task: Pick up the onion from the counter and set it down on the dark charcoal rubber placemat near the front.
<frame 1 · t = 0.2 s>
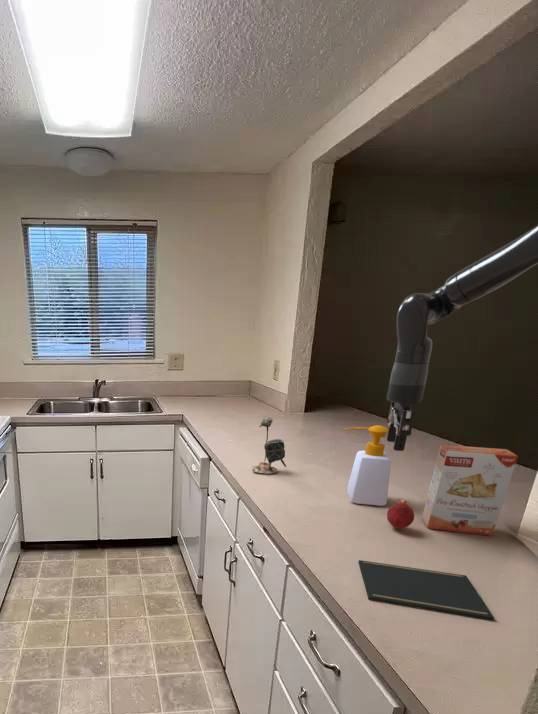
hand: (394, 445, 111), 19 cm above the countertop, tool pointing down, fingers open, 8 cm apart
placemat: (418, 588, 86), on the countertop
soap bottle: (357, 499, 128), on the countertop
onion: (397, 529, 110), on the countertop
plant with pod: (268, 472, 151), on the countertop
cracker box: (455, 528, 110), on the countertop
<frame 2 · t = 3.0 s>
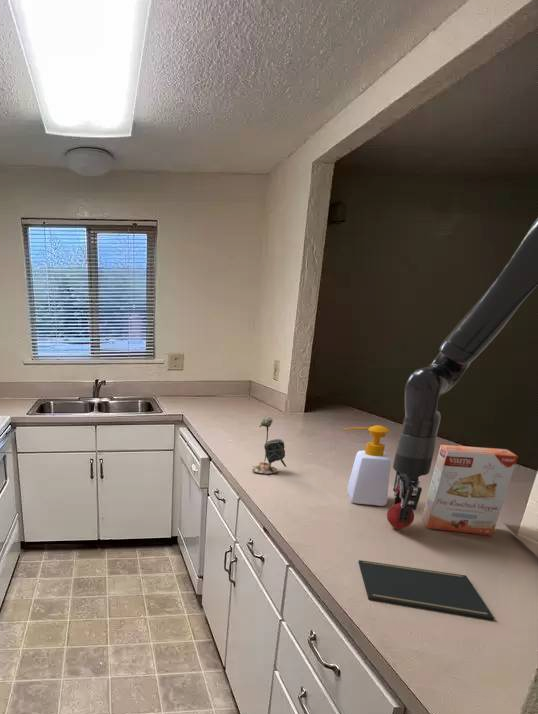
hand: (400, 516, 108), 4 cm above the countertop, tool pointing down, fingers closed on onion, 6 cm apart
onion: (397, 529, 110), on the countertop, touching gripper
everything else where it was.
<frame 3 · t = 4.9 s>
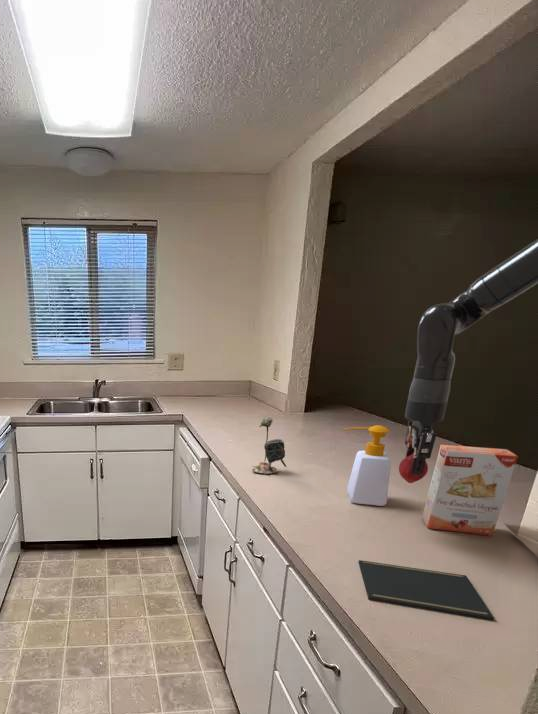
hand: (412, 468, 103), 16 cm above the countertop, tool pointing down, fingers closed on onion, 6 cm apart
onion: (409, 483, 104), point 13 cm above the countertop, touching gripper
everything else where it was.
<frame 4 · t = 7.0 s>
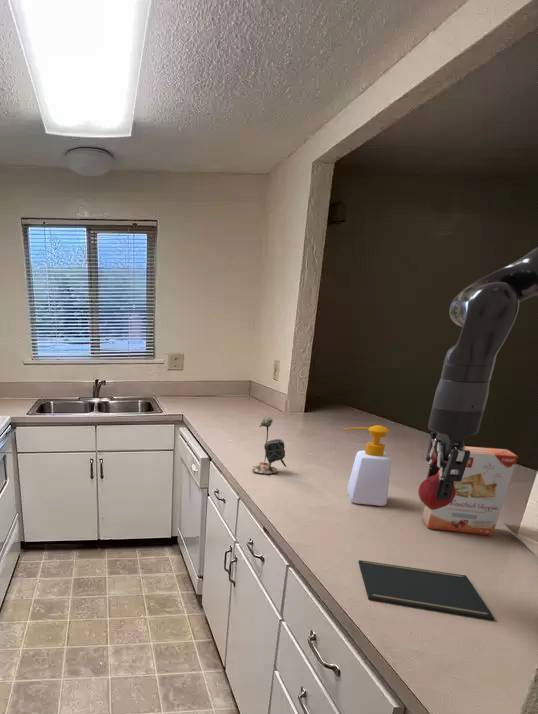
hand: (436, 492, 83), 19 cm above the countertop, tool pointing down, fingers closed on onion, 6 cm apart
onion: (432, 510, 84), point 15 cm above the countertop, touching gripper
everything else where it was.
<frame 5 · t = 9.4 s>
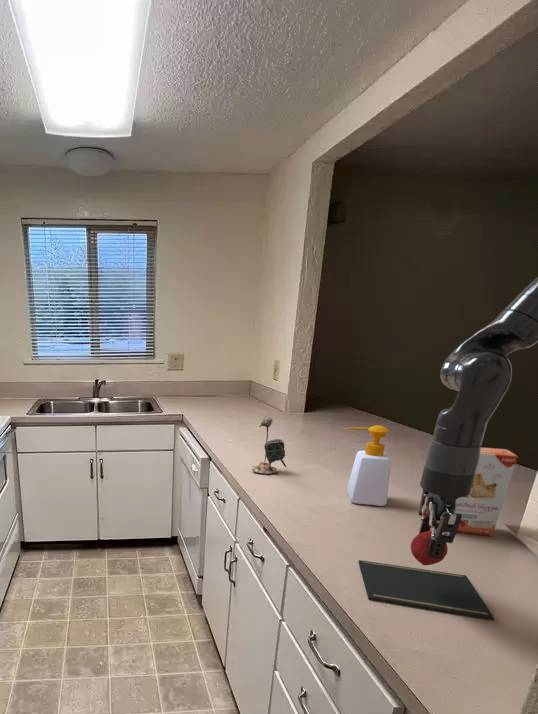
hand: (428, 548, 83), 9 cm above the countertop, tool pointing down, fingers closed on onion, 6 cm apart
onion: (424, 565, 84), point 5 cm above the countertop, touching gripper
everything else where it was.
when the fingers open (4 cm above the countertop, at t = 11.1 s): onion stays where it is, resting on placemat.
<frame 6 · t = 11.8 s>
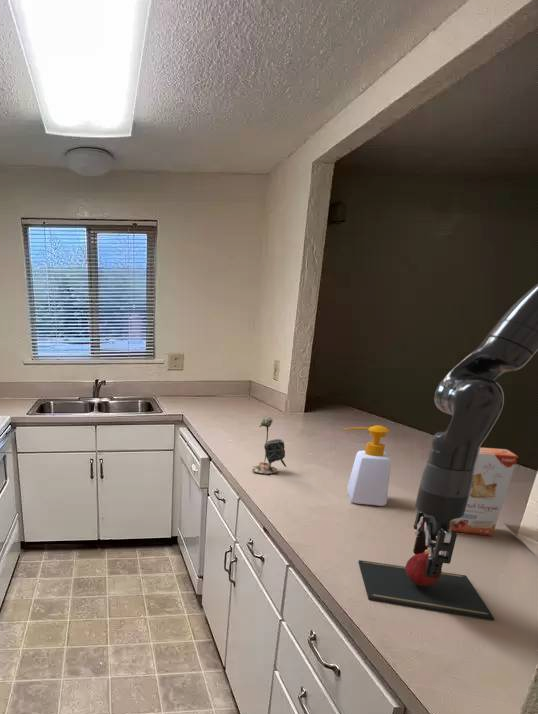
hand: (424, 565, 84), 5 cm above the countertop, tool pointing down, fingers open, 8 cm apart
onion: (419, 586, 86), resting on placemat
everything else where it was.
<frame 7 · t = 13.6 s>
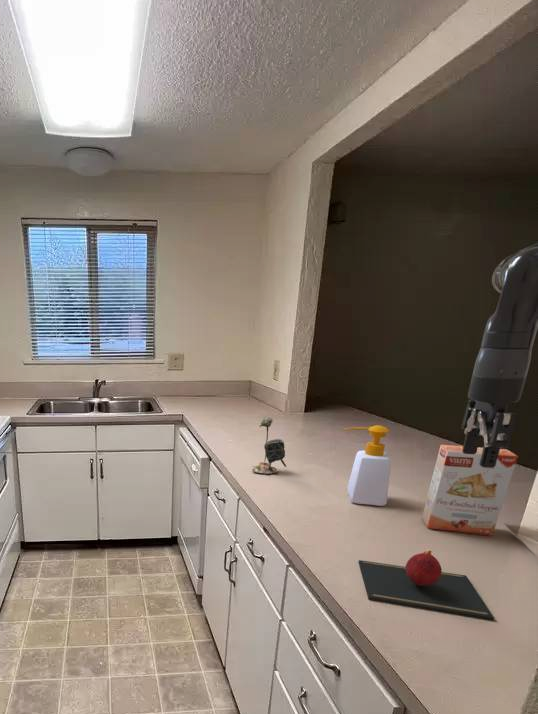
hand: (477, 459, 83), 25 cm above the countertop, tool pointing down, fingers open, 8 cm apart
nothing on the countertop moved.
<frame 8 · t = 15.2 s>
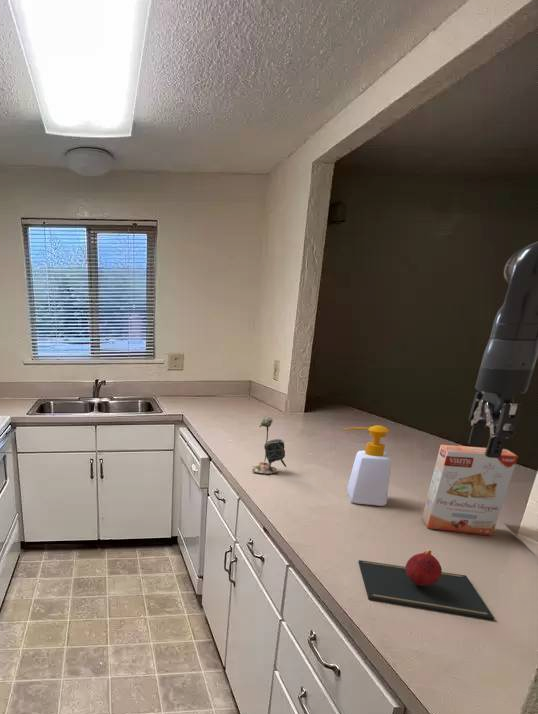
hand: (483, 450, 84), 26 cm above the countertop, tool pointing down, fingers open, 8 cm apart
nothing on the countertop moved.
at the end: onion inside the target area on the placemat (0.0 cm from its centre), point 0.4 cm above the placemat's base; the gripper is holding nothing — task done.
